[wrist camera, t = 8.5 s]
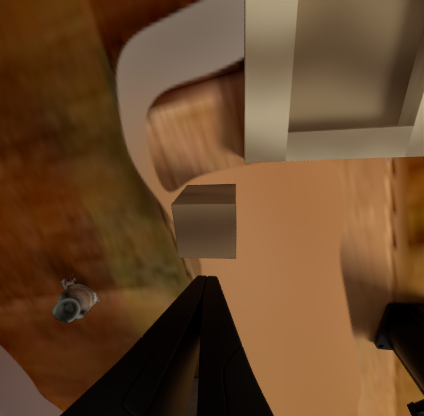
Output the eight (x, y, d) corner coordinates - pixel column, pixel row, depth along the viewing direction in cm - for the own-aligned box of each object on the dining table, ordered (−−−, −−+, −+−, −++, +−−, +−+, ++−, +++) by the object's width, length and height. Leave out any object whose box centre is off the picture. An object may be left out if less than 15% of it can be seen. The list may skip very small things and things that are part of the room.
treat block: (236, 227, 20) (235, 258, 16) (191, 227, 21) (178, 257, 16) (235, 183, 18) (235, 203, 14) (187, 185, 19) (171, 204, 14)
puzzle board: (554, 146, 15) (600, 149, 13) (244, 158, 17) (245, 162, 16) (693, -105, 10) (793, -156, 8) (244, -34, 13) (245, -60, 11)
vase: (86, 255, 24) (46, 297, 18) (122, 282, 25) (95, 329, 20) (62, 277, 26) (19, 321, 20) (98, 301, 27) (66, 349, 22)
